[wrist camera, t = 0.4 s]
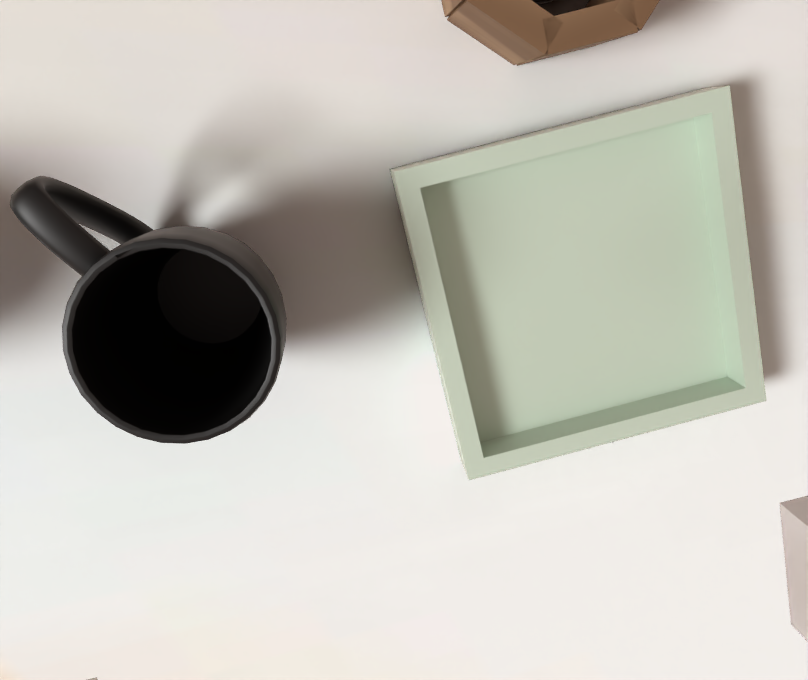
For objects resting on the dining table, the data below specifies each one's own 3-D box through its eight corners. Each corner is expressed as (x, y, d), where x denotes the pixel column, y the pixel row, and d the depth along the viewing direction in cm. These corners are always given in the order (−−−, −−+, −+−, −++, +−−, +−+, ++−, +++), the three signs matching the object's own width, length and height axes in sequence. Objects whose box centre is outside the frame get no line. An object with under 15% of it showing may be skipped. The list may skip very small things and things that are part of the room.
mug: (153, 111, 36) (92, 105, 26) (327, 299, 39) (326, 352, 30) (29, 228, 37) (-71, 261, 27) (209, 403, 40) (173, 485, 30)
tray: (389, 169, 37) (393, 171, 35) (704, 88, 38) (729, 85, 35) (460, 460, 42) (468, 480, 39) (741, 385, 42) (766, 400, 40)
